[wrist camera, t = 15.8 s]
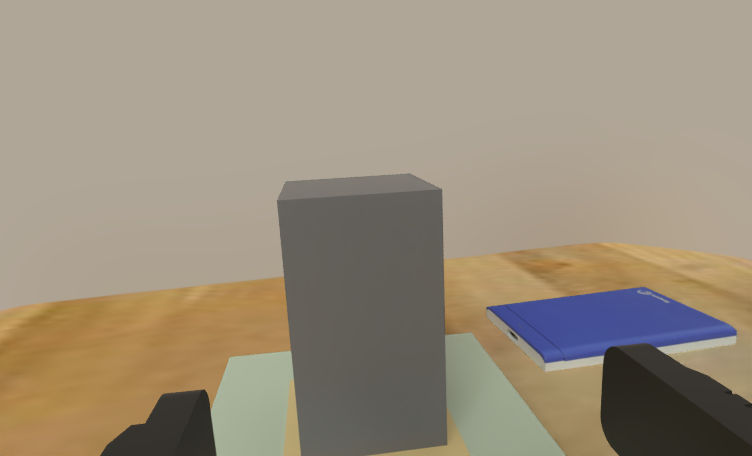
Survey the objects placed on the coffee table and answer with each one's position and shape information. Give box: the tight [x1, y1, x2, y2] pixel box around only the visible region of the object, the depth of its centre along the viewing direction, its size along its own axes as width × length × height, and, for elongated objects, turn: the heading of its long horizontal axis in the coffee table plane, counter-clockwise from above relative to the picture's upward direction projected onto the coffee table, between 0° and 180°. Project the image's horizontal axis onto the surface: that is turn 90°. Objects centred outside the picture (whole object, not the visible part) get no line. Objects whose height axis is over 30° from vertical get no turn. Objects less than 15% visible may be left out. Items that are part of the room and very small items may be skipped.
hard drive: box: [486, 287, 737, 372], centre depth 32 cm, size 2×8×12 cm
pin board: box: [211, 332, 566, 456], centre depth 21 cm, size 14×14×4 cm
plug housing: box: [277, 174, 447, 456], centre depth 20 cm, size 6×6×10 cm
